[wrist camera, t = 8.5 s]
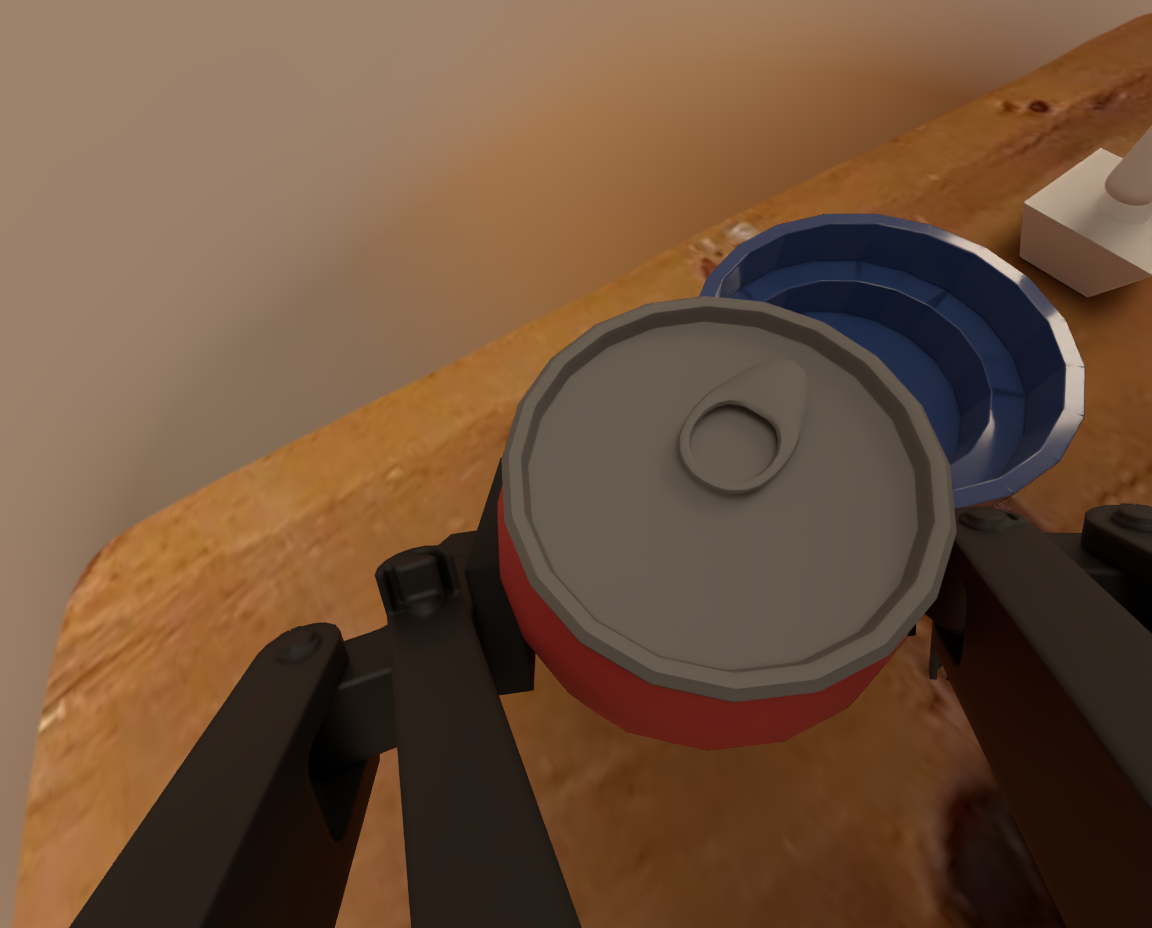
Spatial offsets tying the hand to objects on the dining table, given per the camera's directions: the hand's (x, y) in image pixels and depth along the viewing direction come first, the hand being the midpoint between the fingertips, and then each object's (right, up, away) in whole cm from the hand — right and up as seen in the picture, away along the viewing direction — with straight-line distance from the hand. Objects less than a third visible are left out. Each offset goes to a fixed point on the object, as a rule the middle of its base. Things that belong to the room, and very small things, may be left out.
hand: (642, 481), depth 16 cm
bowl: (+12, +4, +14) cm, 19 cm away
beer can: (+1, -5, +2) cm, 5 cm away
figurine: (+28, +13, +17) cm, 36 cm away
